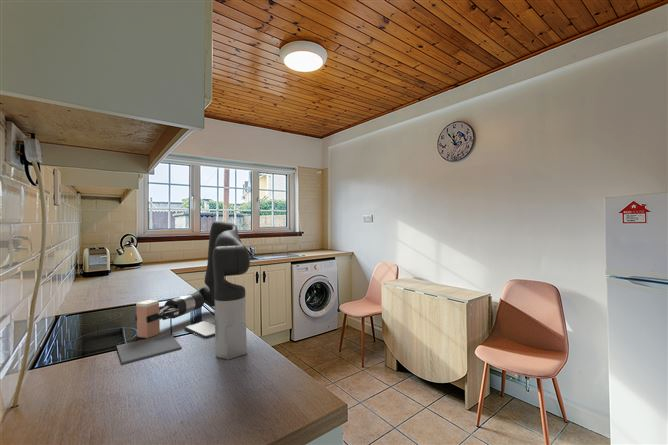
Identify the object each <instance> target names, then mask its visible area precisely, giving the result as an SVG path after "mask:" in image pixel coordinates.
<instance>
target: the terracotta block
mask: <svg viewBox="0 0 668 445" xmlns="http://www.w3.org/2000/svg"><path fill="white" fill-rule="evenodd" d="M135 306H136V309H135V310H136V315H137V321H136V331H137V332H136V334H137V335H136V336H137V338H138V337H139V338H144V339H148V338H152V337H155V336H157V335H159V334H160V333H161V329H160V328H161V327H160V326H161V325H160V324H161V322H160V321H161V320H155V321H152V322H150V323H147V322H146V317H147V316H150V315H153V314H157V313H158V312H159V306H160V300H157V299H156V300H155V299H147V300H144V301H140V302H136V304H135Z"/></svg>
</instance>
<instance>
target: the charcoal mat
mask: <svg viewBox="0 0 668 445" xmlns="http://www.w3.org/2000/svg"><path fill="white" fill-rule="evenodd" d="M182 348H183V347H182V346H181V344H180V343H179V342H178V341H177V340H176V338H175V337H174V336H173V334H171V333H166V334H162V335H158V336H157V335H156V336H152V337H149V338H144V339H139V340H136V341H131V342H127V343H122V344H118V345H116V350H117V354H118V357H119V356H120V357H119V359H120V363H121V365H124V364H128V363H132V362H136V361H139V360H143V359H144V360H145V359H147V358H151V357H155V356H159V355H163V354H167V353H170V352H171V353H172V352H175V351H177V350H178V351H179V350H182Z"/></svg>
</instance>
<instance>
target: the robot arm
mask: <svg viewBox="0 0 668 445" xmlns="http://www.w3.org/2000/svg"><path fill="white" fill-rule="evenodd" d="M208 239H209V240H208V249H207V263H206V264H207V265H206V270H205V275H204V284H205V285H206V286H202V287H201V288H199V289H198V290H196V291H195V292H192V293H190V294H186V295H181V296H178V297H174V298H172V299H171V298H170V299H169V300H166V302H165V303H164V305H159V312H158V313H157V314H153V315H150V316H147V317H146V322H147V323H150V322H152V321H155V320H159V321H161V320H162V321H166V320H169V319H176V318H179V317H182V316H184V315H187V314H189V313H191V312H194V311H197V310H198V309H201V308H202V307H203V306H204V304H205V305H207V306H209V307H214V325H215V336H214V339H215V340H214V341H215V357H216V358H219V359H226V360H228V361H229V360H231V359H235V358H238V357H241V356H244V355H247V353H248V348H247V346H248V345H247V344H248V342H247V340H248V339H247V309H246V308H247V307H246V304H247V302H246V288H245V286H244V285H239V284H236V283H232V282H230V281H228V280H227V279H226V277H231V276H232V277H233V276H240V275H241V276H242V275H244V274H246V273H247V272H248V270H249V268H250V266H251V265H250V263H251V258H250V253H249V251H248V248H247V246H245V245H244V244H243V242H242V240H241V237H240V236H239V229H238V225H236V223H233V222H227V221H220V220H214V221H212V224H211V225H210V230H209V238H208ZM134 321H135V322H137V314H136V315H134Z"/></svg>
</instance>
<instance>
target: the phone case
mask: <svg viewBox="0 0 668 445" xmlns="http://www.w3.org/2000/svg"><path fill="white" fill-rule="evenodd" d="M185 330H186V332H188V333H190V332H192V333H195V334H197V335H199V336H201V337H200V338H202V337H203V338H202V339H205V338H206V339H210V338H209V337H211V338H212V336H213V337H215V323H211V322H209V321H206V320H202V321H199V322H195V323H192V324H189V325H186V326H184V331H185ZM192 333H191V334H192ZM195 334H194V335H195ZM197 335H196V336H197ZM199 336H198V337H199Z"/></svg>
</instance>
